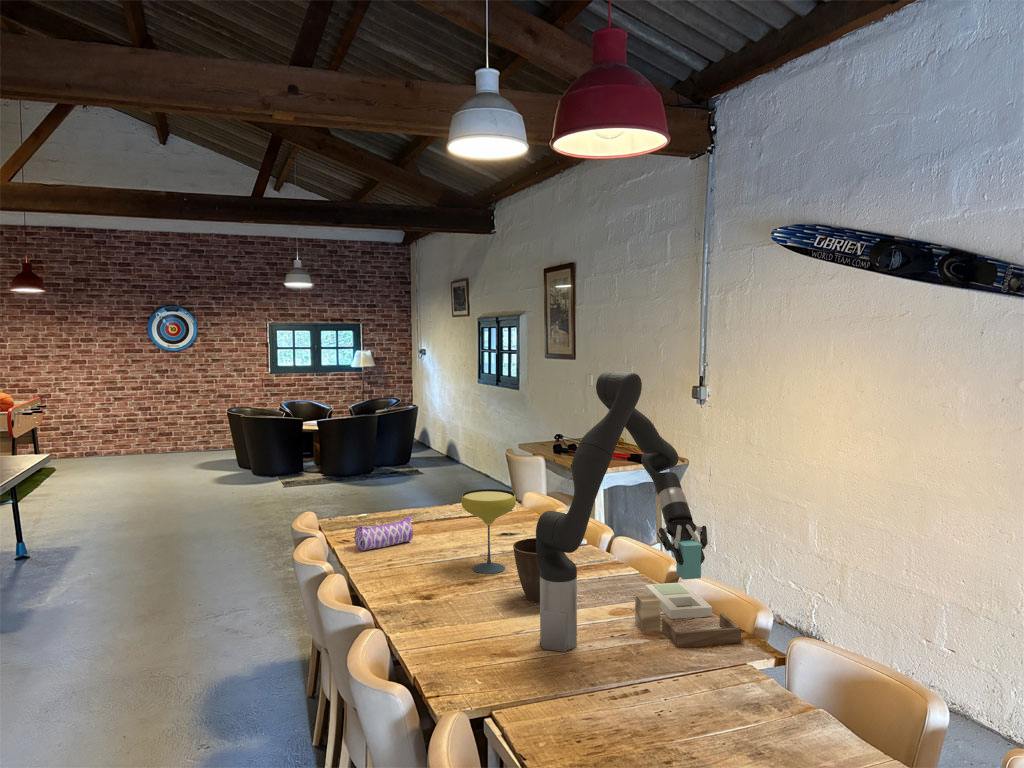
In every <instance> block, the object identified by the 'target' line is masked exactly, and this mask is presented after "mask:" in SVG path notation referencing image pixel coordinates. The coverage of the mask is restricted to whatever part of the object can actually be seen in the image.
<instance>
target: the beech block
mask: <svg viewBox="0 0 1024 768" xmlns="http://www.w3.org/2000/svg"><path fill="white" fill-rule="evenodd" d="M634 597H635V599H634V601H635V603H634V606H635V608H634V609H635V611H634V614H635V615H634V616H635V620H634V624H635V625H636V627H637V628H638V629H639V630H640V631H641V632H651V631H661V629H660V628H661V609H660V600H659V599H658V598H657V597H656V596H655V595H654V594H646V593H644V594H643V593H642V594H639V593H638V594H635V595H634Z"/></svg>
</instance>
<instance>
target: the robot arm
mask: <svg viewBox="0 0 1024 768" xmlns="http://www.w3.org/2000/svg"><path fill="white" fill-rule="evenodd" d="M642 387H643V383H642V379H641V376H640V375H638V374H637V373H636V372H631V371H619V370H617V371H615V370H610V371H608V370H607V371H605V372H604V371H603V372H601V374H600V375H599V376H598V377H597V380H596V383H595V389H596V390H595V391H596V395H597V396H598V397H597V398H598V400H600V401H601V403H602V404H603V405H604V406H605V407H606V408H607V409H608V412H607V413H606V415H605V416H604V417H603V418H602V419H601V420H600V421H599V422H597V424H595V425H594V426H593V427H592V428H590V429H589V430H588V431H587V432H586V433H585V434H584V435H583V437H582V438H581V440H580V441H579V444H578V446H577V447H576V450H575V452H574V454H573V458H572V460H571V473H572V474H571V475H572V482H573V489H574V490H573V497H572V501H571V504H570V506H569V508H568V511H567V513H565V512H560V511H558V510H557V511H556V510H546V511H544V512H542V514H540V516H539V517H538V519H537V523H536V527H535V538H536V551H537V564H538V567H539V569H540V603H539V636H540V637H539V642H540V645H541V649H543V650H548V651H555V652H556V651H557V652H565V653H566V652H567V651H569V650H572V649H574V648H575V647H576V646H577V643H578V642H577V641H578V638H577V637H578V633H577V632H578V624H577V623H578V619H577V618H578V616H577V615H578V567H577V565H576V564H575V562H574V561H573V560H571V559H570V558H569V557H568V556H567V555H566V554H571V553H574V552H576V551H577V550H578V549H579V547H580V545H581V544H582V542H583V541H584V537H585V535H586V532H587V528H588V525H589V522H590V518H591V514H592V511H593V508H594V505H595V501H596V499H597V496H598V494H599V490H600V488H601V486H602V483H603V480H604V478H605V476H606V474H607V471H608V469H609V466H610V464H611V461H612V459H613V458H614V457H613V455H614V453H615V450H616V448H617V446H618V443H619V441H620V439H621V437H622V434H623V431H624V429H626V430H627V432H628V433H629V434H630V436H631V437H632V439H633V441H634V442H635V444H636V445H637V447H638V449H639V450H640V451H641V452H642V453H643V454H642V455H641V460H640V461H641V464H642V466H643V468H644V470H645V471H646V473H647V474H648V475H649V476H650V478H651V480H652V482H653V484H654V487H655V490H656V494H657V496H658V497H657V498H658V503H659V508H660V511H661V514H662V517H663V520H664V524H665V528H663V527H659V529H658V531H657V532H656V535H657V537H658V539H659V541H660V542H661V544H662V545H663V548H664V550H665V551H666V552H669V551H670V552H672V553H673V554H674V559H675V562H676V564H677V563H679V565H682V564H683V563H684V560H683V557H682V554H681V550H680V549H679V543H678V542H680V541H688V540H693V541H696V542H698V543H699V544H701V565H703V563H704V561H705V559H706V557H705V553H704V550H705V549H706V548H707V546H708V543H709V542H708V530H707V526H706V525H702V526H697V525H696V524H695V523H694V520H693V516H692V513H691V510H690V506H689V504H688V501H687V497H686V495H685V493H684V491H683V488H682V485H681V482H680V479H679V476H678V475H677V474H676V473H675V472H672V471H667V470H669V469H672V468H674V467H676V466H677V465H678V463H679V454H678V452H677V450H676V449H675V447H673V445H672V444H671V443H669V442H668V441H666V440H665V439H664V438H663V437H662V436H661V435H660V433H659V432H658V430H657V428H656V426H655V425H654V423H653V422H652V421H651V419H650V418H648V417H647V416H646V415H645V414H643V412H640V411H639V410H638V409H637V408H636V406H637V404H638V402H639V399H640V397H641V394H642V389H643V388H642ZM663 471H665V472H663ZM696 532H697V534H696ZM668 535H669V536H670V537H672V541H671V540H670V538H669V537H668ZM697 535H698V536H699V537H698V536H697Z"/></svg>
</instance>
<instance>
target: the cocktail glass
mask: <svg viewBox="0 0 1024 768" xmlns="http://www.w3.org/2000/svg"><path fill="white" fill-rule="evenodd" d="M516 499H517V497H516V493H514V492H513V491H510V490H505V489H497V488H487V489H486V488H485V489H483V488H482V489H475V490H474V489H473V490H469V491H466V492H464V493H462V495H461V500H460V503H461V507H462V508H463V509H464V510H465V511H466V512H467V513H469V514H470V515H473V516H475V517H476V518H479V519H481V520H482V521H483V523H484V524H485V525H487V559H486V562H482V563H478V564H475V565H473V567H472V570H473V572H475V573H478V574H483V575H492V574H499V573H502V572H504V571H505V570H506V566H505V565H503V564H501V563H498V562H497V563H496V562H492V561H491V559H492V558H491V536H490V535H491V534H490V533H491V532H490V530H491V529H490V528H491V527H490V526H491V525H492V524H493V523H494V522H495V521H496V519H498V518H500V517H502V516H504V515H506V514H508V513H509V512H511V511H512V510H513V509H514V508H515V506H516V505H517V504H516V501H517V500H516Z"/></svg>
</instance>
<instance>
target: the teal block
mask: <svg viewBox="0 0 1024 768" xmlns="http://www.w3.org/2000/svg"><path fill="white" fill-rule="evenodd" d="M678 543H679V549H680V550H681V554H682V557H683V560H684V563H683V564H682V565H679V563H677V562H676V567H675V569H676V571H675V573H676V574H675V575H677V576H678V577H679V578H681V579H682V580H696V579H697V580H698V579H699V580H700V579H702V564H701V544H699V543H698V542H696V541H693V540H688V541H680V542H678Z"/></svg>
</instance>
